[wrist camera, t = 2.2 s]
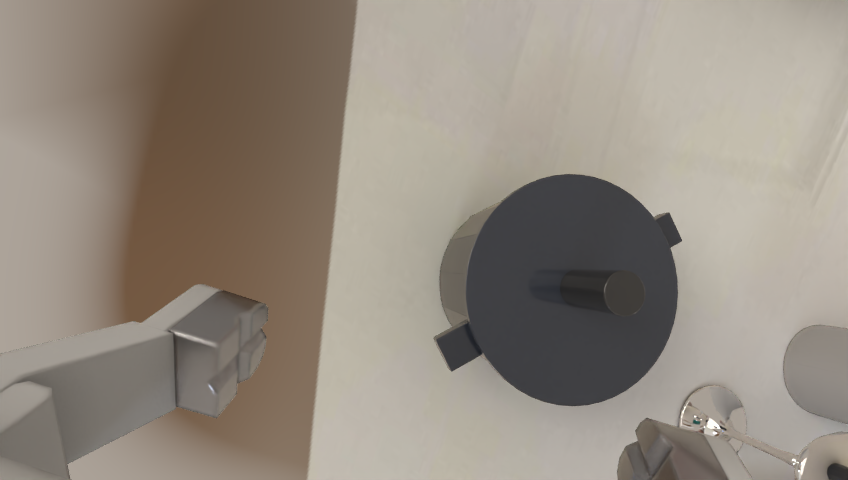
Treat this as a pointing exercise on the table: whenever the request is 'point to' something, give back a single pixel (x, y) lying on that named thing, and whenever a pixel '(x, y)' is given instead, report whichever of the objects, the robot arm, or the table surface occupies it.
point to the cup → (819, 371)
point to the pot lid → (570, 290)
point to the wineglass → (725, 418)
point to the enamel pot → (459, 339)
